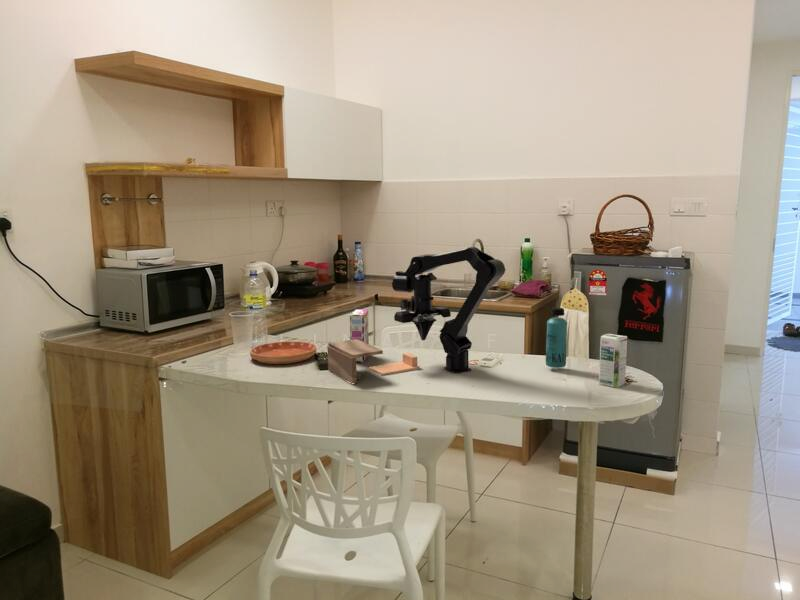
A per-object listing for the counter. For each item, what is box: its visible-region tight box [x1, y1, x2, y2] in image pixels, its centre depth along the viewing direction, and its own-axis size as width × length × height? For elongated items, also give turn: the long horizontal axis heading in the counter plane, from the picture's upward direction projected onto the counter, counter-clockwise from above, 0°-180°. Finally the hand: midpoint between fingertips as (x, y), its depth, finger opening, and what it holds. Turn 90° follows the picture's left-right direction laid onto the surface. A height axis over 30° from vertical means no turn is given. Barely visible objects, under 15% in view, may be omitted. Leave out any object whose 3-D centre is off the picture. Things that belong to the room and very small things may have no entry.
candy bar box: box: [349, 309, 370, 363], centre depth 215 cm, size 11×5×16 cm, turn 174°
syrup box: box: [598, 333, 628, 389], centre depth 182 cm, size 6×6×14 cm
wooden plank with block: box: [368, 352, 421, 376], centre depth 203 cm, size 14×9×4 cm, turn 120°
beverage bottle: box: [544, 307, 568, 369], centre depth 197 cm, size 6×7×20 cm
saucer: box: [249, 340, 317, 365], centre depth 219 cm, size 23×23×4 cm
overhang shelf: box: [326, 339, 384, 384], centre depth 196 cm, size 10×18×9 cm, turn 30°
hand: (423, 340), depth 207 cm, fingers closed
